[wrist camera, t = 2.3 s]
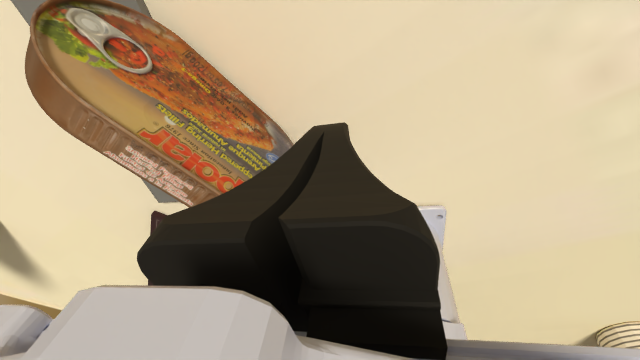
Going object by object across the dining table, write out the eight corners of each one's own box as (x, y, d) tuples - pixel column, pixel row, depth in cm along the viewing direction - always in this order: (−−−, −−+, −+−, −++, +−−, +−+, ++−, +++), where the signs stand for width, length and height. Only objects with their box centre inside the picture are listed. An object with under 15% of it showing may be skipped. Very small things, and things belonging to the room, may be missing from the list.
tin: (313, 156, 22) (303, 242, 15) (286, 178, 23) (265, 265, 16) (123, -17, 15) (-43, -3, 9) (101, 27, 17) (-56, 68, 10)
